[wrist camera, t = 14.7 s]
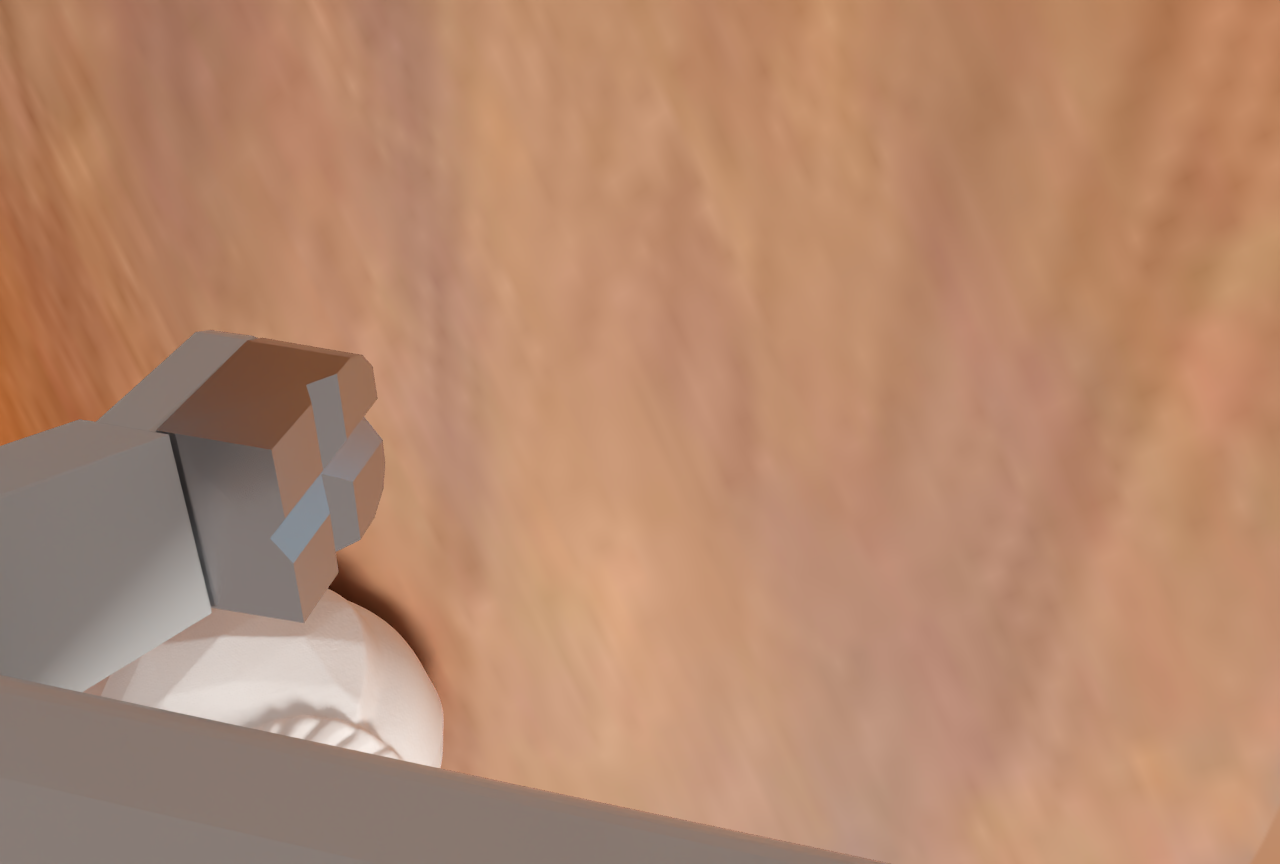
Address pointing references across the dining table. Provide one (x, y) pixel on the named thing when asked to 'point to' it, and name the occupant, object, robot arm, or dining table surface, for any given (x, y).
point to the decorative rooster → (295, 680)
